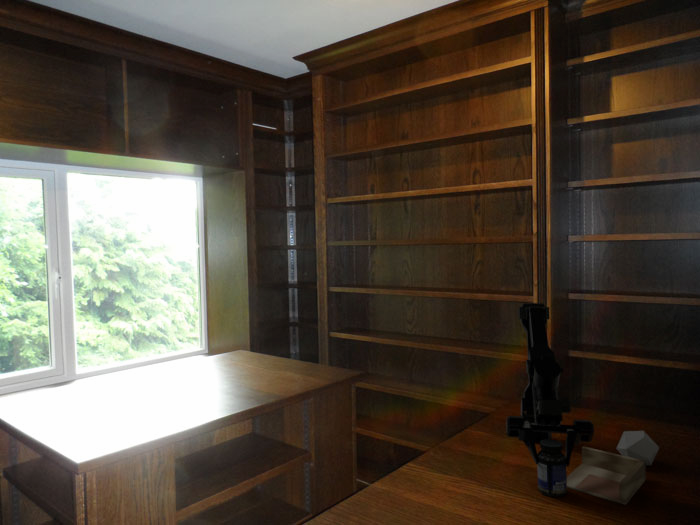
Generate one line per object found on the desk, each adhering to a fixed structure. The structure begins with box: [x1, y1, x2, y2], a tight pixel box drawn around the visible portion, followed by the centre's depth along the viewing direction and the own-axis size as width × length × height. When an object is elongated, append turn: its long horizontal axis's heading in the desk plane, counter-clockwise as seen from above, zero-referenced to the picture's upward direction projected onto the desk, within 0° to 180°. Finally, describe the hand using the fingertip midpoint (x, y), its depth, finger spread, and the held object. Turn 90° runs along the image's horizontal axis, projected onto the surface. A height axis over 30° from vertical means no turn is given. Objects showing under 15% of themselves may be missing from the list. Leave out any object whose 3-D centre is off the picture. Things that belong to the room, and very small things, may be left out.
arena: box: [567, 446, 647, 505], centre depth 119 cm, size 14×16×4 cm
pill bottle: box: [536, 438, 568, 498], centre depth 115 cm, size 6×6×11 cm
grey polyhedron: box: [616, 430, 660, 466], centre depth 129 cm, size 8×9×10 cm
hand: (552, 464), depth 113 cm, fingers closed on pill bottle, 6 cm apart
